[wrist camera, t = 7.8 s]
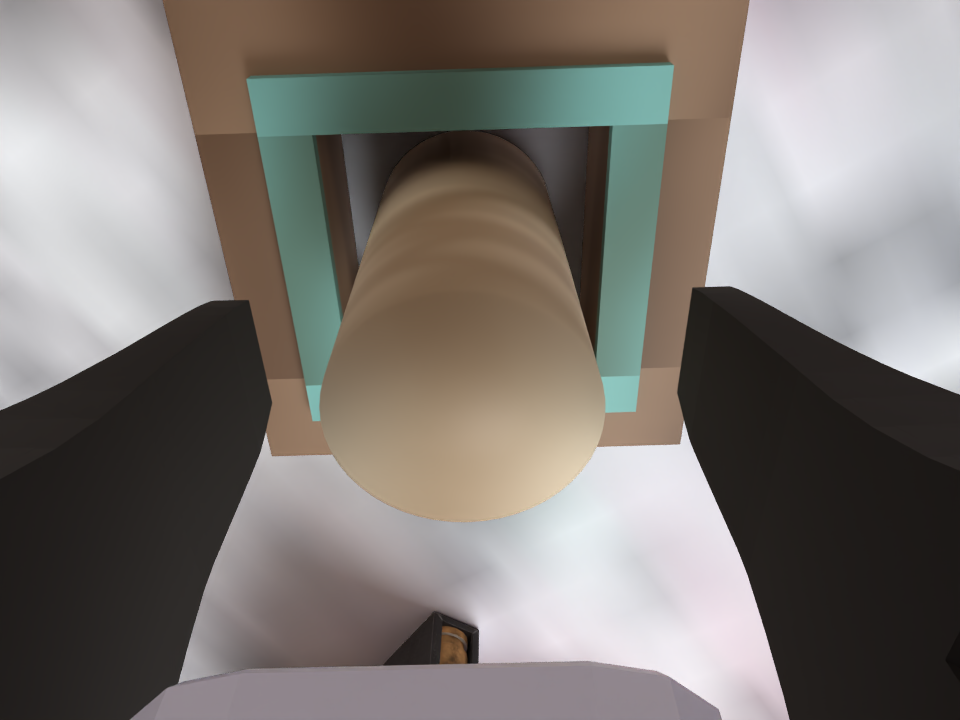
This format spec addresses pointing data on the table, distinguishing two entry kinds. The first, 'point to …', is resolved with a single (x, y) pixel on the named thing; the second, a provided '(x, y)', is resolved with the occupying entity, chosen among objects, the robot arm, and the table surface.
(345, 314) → the peg
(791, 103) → the table surface
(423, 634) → the ammunition clip
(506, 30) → the rail
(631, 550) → the table surface
